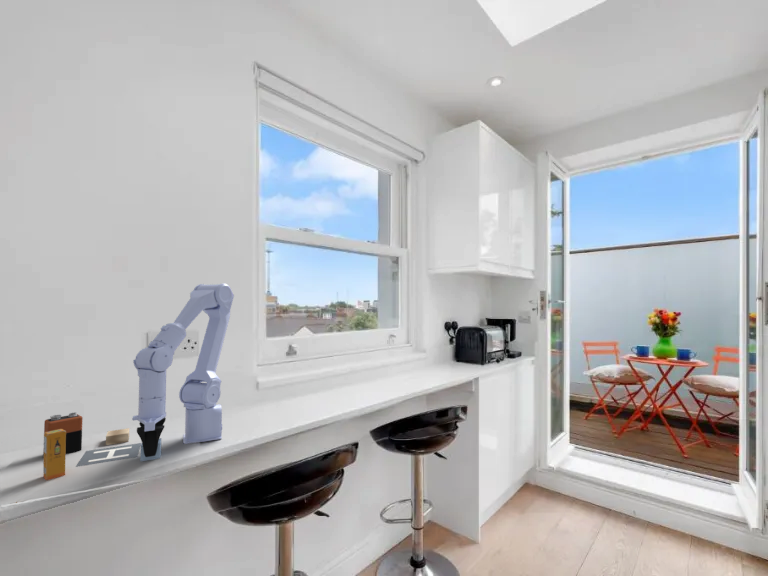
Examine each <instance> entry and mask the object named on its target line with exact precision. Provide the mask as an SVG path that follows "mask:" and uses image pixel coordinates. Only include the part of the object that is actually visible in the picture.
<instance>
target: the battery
mask: <svg viewBox="0 0 768 576" xmlns="http://www.w3.org/2000/svg"><path fill="white" fill-rule="evenodd" d="M58 429H63V430H65V431H66V453H65V456H66V455H69V454H73V453H77V452H81V451H82V447H83V446H82V445H83V444H82V443H83V416H81V414H78V413H77V412H69V413H68V414H67V415H63V416H62V415H61V414H54V415H50V418H47V419H45V420H44V428H43V434H44V433H45V432H49V431H54V430H58ZM42 453H43V456H44V449H43V452H42Z"/></svg>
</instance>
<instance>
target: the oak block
mask: <svg viewBox="0 0 768 576" xmlns="http://www.w3.org/2000/svg"><path fill="white" fill-rule="evenodd" d="M129 439H130V427H128V428H121V429H115V430H114V429H113V430H108V431H107V433H106V436H105V446H110V445H116V444H117V445H118V444H123V443H129V441H130V440H129Z"/></svg>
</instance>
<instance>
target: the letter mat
mask: <svg viewBox="0 0 768 576" xmlns="http://www.w3.org/2000/svg"><path fill="white" fill-rule="evenodd" d="M141 444H142V442H139V443H131V444H124V445H118V446H111V447H105V448H104V447H103V448H97V449H89V450H86V451H85V452H84V454H83V455H82V456H81V458H80V459H79V461H78V462H77V463H76V465H75V468H78V467H84V466H90V465H97V464H103V463H110V462H115V461H121V460H128V459H134V458H138V457H139V453H140V451H141Z"/></svg>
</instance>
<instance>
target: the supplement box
mask: <svg viewBox="0 0 768 576" xmlns="http://www.w3.org/2000/svg"><path fill="white" fill-rule="evenodd" d="M43 450H44V455H43V473H42V475H43V478H44V480H45V481H50V480H53V479H57V478H61V477H64V476H66V455H65V453H66V431H65V430H63V429H58V430H54V431H49V432H45V433H44V432H43Z"/></svg>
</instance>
